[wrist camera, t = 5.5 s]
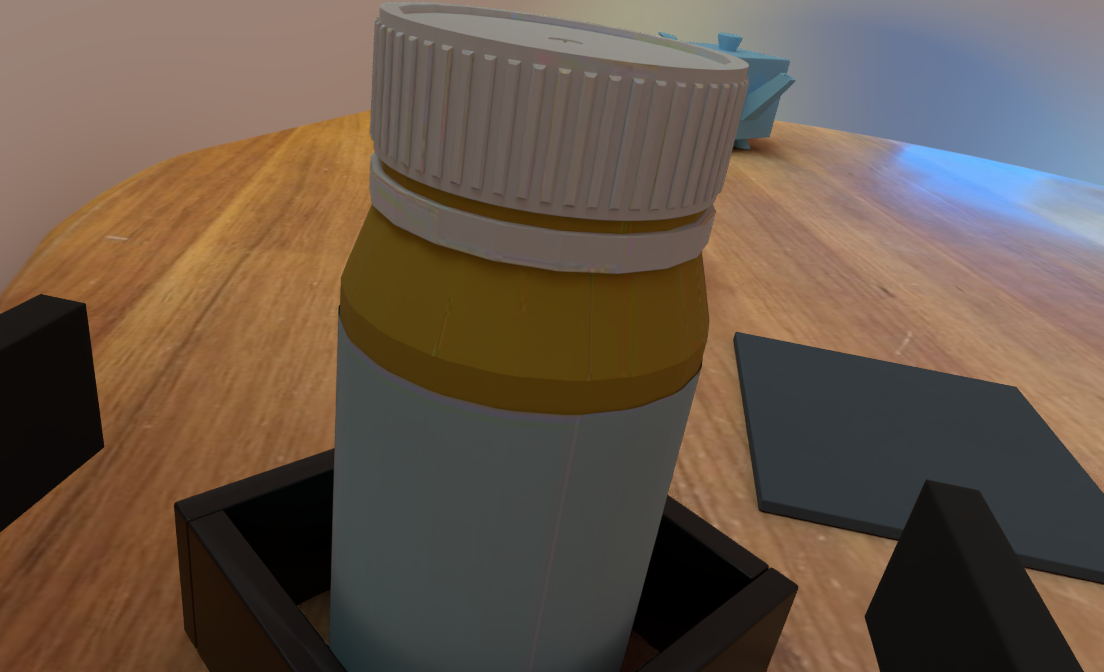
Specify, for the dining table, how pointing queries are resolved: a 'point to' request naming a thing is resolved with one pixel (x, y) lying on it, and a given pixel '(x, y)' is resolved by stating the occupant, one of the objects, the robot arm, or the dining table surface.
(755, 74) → the teapot
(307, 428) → the dining table surface
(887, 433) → the mat
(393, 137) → the bottle
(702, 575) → the holder
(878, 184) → the dining table surface
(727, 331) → the dining table surface
